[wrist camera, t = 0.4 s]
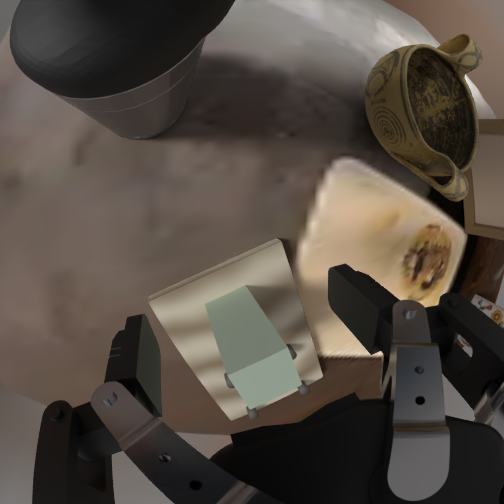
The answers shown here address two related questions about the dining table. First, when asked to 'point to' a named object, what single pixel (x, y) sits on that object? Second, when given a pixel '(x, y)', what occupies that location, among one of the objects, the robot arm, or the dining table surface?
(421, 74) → the ceramic bowl
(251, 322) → the green block
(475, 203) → the photo frame
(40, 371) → the dining table surface
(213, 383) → the peg board
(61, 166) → the dining table surface
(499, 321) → the decorative jar
